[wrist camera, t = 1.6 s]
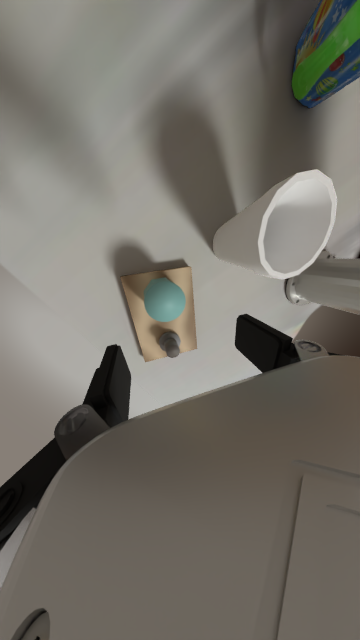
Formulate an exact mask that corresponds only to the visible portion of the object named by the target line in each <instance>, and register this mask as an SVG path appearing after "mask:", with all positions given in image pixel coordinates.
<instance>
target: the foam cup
mask: <svg viewBox="0 0 360 640" xmlns="http://www.w3.org/2000/svg"><path fill="white" fill-rule="evenodd" d="M336 206H337V197H336V193H335V190H334V187H333V183H332V180H331V179H330V178H329V177H327V176H326V175H325V174H323V173H322V172H320V171H319V170H318V169H315V170H310V171H305V172H300V173H296V174H294V175H292V176H291V177H289V178H287V179H285V180H283V181H281V182H280V183H278V184H276V185H274V186H273V187H272V188H271V189H270V190H268V191H267V192H266V193H265V194H264V195H263V196H262V197H261V198H259V199H258V200H257V201H255V202H254V203H252V204H251V205H250V206H248V207H247V208H245V209H244V210H243V211H241V212H240V213H238V214H237V215H236V216H234V217H233V218H231V219H230V220H229V221H227V222H226V223H225V224H223V225H222V226H221V227H220V228H219V229H218V230H217V231H216V233H215V236H214V238H213V246H212V247H213V251H214V254H215V256H216V257H217V258H218V259H219V260H221V261H224V262H227V263H230V264H233V265H236V266H239V267H242V268H245V269H248V270H251V271H253V272H254V273H255V274H259V275H262V276H266V277H271V278H278V279H287V278H290V277H293V276H296V275H299V274H300V273H301V272H303V271H304V270H305V269H306V268H308V267H309V266H310V265H311V264H312V263H314V261H315V260H316V258H317V257H318V255H319V254H320V253H321V251H322V250H323V248H324V247H325V246H326V244H327V241H328V239H329V236H330V233H331V231H332V228H333V226H334V223H335V216H336Z"/></svg>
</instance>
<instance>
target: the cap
mask: <svg viewBox="0 0 360 640" xmlns="http://www.w3.org/2000/svg"><path fill="white" fill-rule="evenodd" d="M185 304H186V299H185V294H184V292H183V291H182V289H181V288H180V287H179V286H178V285H176V284H175V283H173V282H171V281H169V280H168V279H167V278H158V279H152V280H151V281H150V283H149V284H148V285H147V287H146V288H145V290H144V305H145V309H146V312H147V313H148V315H149V316H150V317H151V318H153V319H155V320H157V321H160V322H169V321H172V320H174V319H176V318H177V317H179V316H180V315H181V313H182V312H183V310H184V308H185Z"/></svg>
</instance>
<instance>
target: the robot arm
mask: <svg viewBox="0 0 360 640" xmlns="http://www.w3.org/2000/svg"><path fill="white" fill-rule="evenodd" d="M286 294H287V298H288V299H289V301H290V302H291V303H293V304H296V305H306V304H309V303H311V302H314V303H317V304H321V305H325V306H329V307H333V308H336V309H340V310H344V311H348V312H351V313H355V314H359V315H360V259H334V258H333V256H332V255H331V254H330V253H329V252H327V251H321V253H320V254H319V255H318V257H317V258H316V260H315V261H314V263H312V264H311V265H310V266H309V267H308V268H306V269H305V270H304V271H303V272H301V273H300V274H299V275H296V276H293V277H290V278H289V279H288V282H287V287H286ZM292 339H293V338H291V337H289V336H287V335H286V334H284V333H282V332H280V331H278V330H276V329H274V328H272V327H270V326H269V325H267V324H265V323H263V322H261V321H259V320H257V319H255V318H253V317H252V316H250V315H248V314H243V315H239V317H238V318H237V323H236V336H235V346H236V348H237V349H238V350H239V351H240V352H241V353H242V354H243V355H244V356H245V357H246V358H248V359H249V360H250V361H251V362H252V363H253V364H254V365H255V366H256V367H257V368H258V369H259V370H260V371H261V372H262V374H259V375H256V376H253V377H250V378H247V379H244V380H241V381H238V382H235V383H232V384H229V385H226V386H223V387H220V388H217V389H214V390H211V391H208V392H205V393H202V394H199V395H196V396H193V397H190V398H187V399H184V400H181V401H178V402H175V403H173V404H170V405H167V406H164V407H161V408H158V409H156V410H153V411H150V412H147V413H144V414H142V415H139V416H136V417H134V418H131V419H129V420H128V415H129V399H130V386H131V374H130V371H129V368H128V365H127V363H126V360H125V357H124V355H123V352H122V349H121V347H120V346H117V345H116V344H115V345H111V346H107V348H106V351H105V354H104V356H103V359H102V362H101V365H100V367H99V368H97V369H96V371H95V373H94V376H93V378H92V381H91V384H90V386H89V389H88V391H87V394H86V397H85V399H84V402H83V404H82V405H79V406H77V407H75V408H73V409H71V410H70V411H69V412H67V414H65V415H64V416H63V417H62V418H61V419H60V421H59V422H58V424H57V425H56V427H55V431H54V435H55V438H54V439H53V440H52V441H50V442H49V443H48V444H47V445H46V446H45V447H44V448H43V449H42V450H41V451H39V452H38V453H37V454H36V455H35V456H34V457H33V458H32V459H31V460H30V461H29V462H27V463H26V464H25V465H24V466H23V467H22V468H21V469H20V470H19V471H18V472H16V473H15V474H14V475H13V476H12V477H11V478H10V479H9V480H8V481H7V482H5V483H4V484H3V485H2V486H1V487H0V640H360V358H359V357H353V356H345V355H339V354H334V353H328V352H326V350H325V349H324V348H323V347H322V346H321V345H319V344H318V343H315V342H312V341H308V340H297V341H295V343H294V344H293V343H291V342H292Z"/></svg>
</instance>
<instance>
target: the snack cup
mask: <svg viewBox="0 0 360 640" xmlns="http://www.w3.org/2000/svg"><path fill="white" fill-rule="evenodd" d="M359 77H360V0H321V1H320V3H319V4H318V6H317V8H316V10H315V11H314V13H313V14H312V16H311V18H310V20H309V22H308V23H307V25H306V28H305V29H304V31H303V33H302V35H301V38H300V40H299V42H298V44H297V46H296V56H295V62H294V69H293V77H292V89H293V92H294V96H295V98H296V99H298V100H299V102H300V103H302V104H303V105H304V106H307V107H308V108H312V107H314V106H316V105H317V104H319V103H321V102H322V101H324V100H326V99H327V98H329V97H330V96H332V95H333V94H335V93H336V92H338V91H339V90H341V89H342V88H344V87H345V86H346V85H348V84H350V83H351V82H353V81H354V80H356V79H357V78H359Z"/></svg>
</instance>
